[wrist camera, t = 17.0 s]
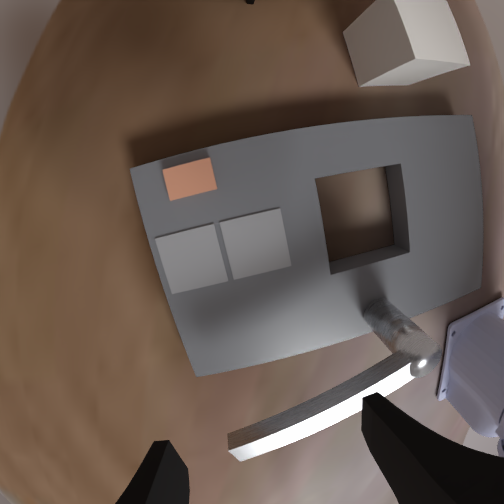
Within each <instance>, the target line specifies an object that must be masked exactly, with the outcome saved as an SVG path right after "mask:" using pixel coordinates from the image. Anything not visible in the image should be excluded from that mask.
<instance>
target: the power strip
mask: <svg viewBox="0 0 504 504" xmlns="http://www.w3.org/2000/svg"><path fill="white" fill-rule="evenodd" d="M382 166H385V169H386V175H387V182H388V189H389V196H390V204H391V213H392V222H393V233H394V245H391V246H388V247H384V248H380V249H377V250H373V251H369V252H366V253H362V254H358V255H354V256H351V257H347V258H343V259H339V260H335V261H332V262H329V260H328V253H327V247H326V240H325V234H324V228H323V222H322V216H321V210H320V204H319V199H318V193H317V188H316V182H315V178H320V177H325V176H330V175H336V174H341V173H347V172H352V171H358V170H364V169H370V168H376V167H382ZM130 172H131V177H132V181H133V185H134V189H135V193H136V197H137V201H138V204H139V208H140V212H141V216H142V219H143V223H144V227H145V230H146V234H147V237H148V240H149V244H150V247H151V251H152V254H153V257H154V260H155V264H156V267H157V270H158V273H159V276H160V279H161V282H162V285H163V288H164V291H165V294H166V297H167V300H168V303H169V306H170V309H171V312H172V315H173V317H174V320H175V323H176V326H177V328H178V331H179V334H180V337H181V339H182V342H183V344H184V347H185V350H186V352H187V355H188V357H189V360H190V362H191V365H192V367H193V370H194V372H195V375H196V377H200V376H205V375H210V374H216V373H221V372H226V371H230V370H235V369H240V368H244V367H249V366H253V365H258V364H262V363H266V362H270V361H274V360H278V359H282V358H286V357H290V356H294V355H297V354H301V353H305V352H308V351H312V350H315V349H319V348H322V347H326V346H329V345H332V344H336V343H339V342H342V341H345V340H349V339H352V338H355V337H358V336H361V335H364V334H367V333H370V332H373V331H372V329H371V328H370V327H369V326H368V325H367V324H366V322H365V320H364V313H365V310H366V308H367V306H368V305H369V304H370V303H371V302H372V301H374V300H375V299H378V298H385V299H387V300H388V301H389V302H391V303H392V304H393V305H394V306H395V307H396V308H398V309H399V310H400V311H401V312H402V313H403V314H405V315H406V316H407V317H408V318H411V317H414V316H416V315H419V314H421V313H424V312H427V311H429V310H431V309H434V308H436V307H439V306H441V305H443V304H446V303H448V302H450V301H453V300H455V299H457V298H460V297H462V296H464V295H466V294H468V293H471V292H473V291H475V290H477V289H479V288H481V281H482V266H483V199H482V184H481V173H480V163H479V155H478V147H477V141H476V134H475V128H474V123H473V117H472V115H432V116H409V117H394V118H381V119H370V120H360V121H351V122H342V123H334V124H326V125H319V126H312V127H306V128H299V129H293V130H287V131H282V132H276V133H271V134H265V135H260V136H255V137H250V138H245V139H241V140H236V141H231V142H227V143H223V144H218V145H214V146H210V147H206V148H202V149H198V150H194V151H190V152H186V153H182V154H179V155H175V156H171V157H168V158H164V159H161V160H157V161H154V162H150V163H147V164H144V165H140V166H137V167H134V168H131V169H130Z"/></svg>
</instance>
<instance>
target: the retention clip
mask: <svg viewBox="0 0 504 504" xmlns="http://www.w3.org/2000/svg"><path fill="white" fill-rule="evenodd" d="M364 320H365V322H366V324H367V325H368V326H369V327H370V328H371V329H372V331H373V332H374V333H375V334H376V335H377V336H378V337H379V339H380V340H381V341H382V342H383V343H384V344H385V345H386V347H387V348H388V349H389V350H390V351H391V352H392V355H390V356H389V357H387V358H385V359H384V360H382V361H380V362H379V363H377V364H375V365H374V366H372V367H370V368H369V369H367V370H365V371H363V372H362V373H360V374H358V375H356V376H354V377H353V378H351V379H349V380H347V381H345V382H343V383H341V384H340V385H338V386H336V387H334V388H332V389H330V390H328V391H326V392H324V393H322V394H320V395H318V396H316V397H314V398H312V399H310V400H308V401H306V402H303V403H301V404H299V405H297V406H295V407H293V408H290V409H288V410H286V411H284V412H281V413H279V414H277V415H274V416H272V417H270V418H267V419H265V420H262V421H260V422H257V423H255V424H252V425H250V426H247V427H244V428H242V429H239V430H236V431H234V432H231V433H228V434H227V435H228V451H229V452H230V453H232V454H233V455H234V456H235V457H236V458H237V459H238V460H239V461H243V460H246V459H249V458H252V457H255V456H258V455H261V454H263V453H266V452H269V451H272V450H274V449H277V448H279V447H282V446H284V445H287V444H289V443H292V442H294V441H297V440H299V439H301V438H304V437H306V436H308V435H311V434H313V433H315V432H317V431H319V430H322V429H324V428H326V427H328V426H330V425H332V424H334V423H336V422H338V421H340V420H342V419H344V418H346V417H348V416H350V415H352V414H354V413H356V412H358V411H359V410H361V409H362V397H364V396H367V395H369V394H372V393H375V392H379V393H380V394H381V395H383V396H386V395H388V394H389V393H391V392H393V391H394V390H396V389H397V388H399V387H401V386H402V385H404V384H405V383H407V382H409V381H410V380H412V379H413V378H420V377H423V376H425V375H427V374H429V373H430V372H431V371H432V370H433V369H434V368H435V367H436V366H437V364H438V363H439V361H440V358H441V355H442V349H441V347H440V346H439V345H438V344H437V343H436V342H435V341H434V340H433V339H432V338H431V337H429V336H428V335H427V334H426V333H425V332H424V331H423V330H422V329H420V328H419V327H418V326H417V325H416V324H415V323H414V322H413V321H411V320H410V319H409V318H408V317H407V316H406V315H405V314H403V313H402V312H401V311H400V310H399V309H398V308H396V307H395V306H394V305H393V304H392V303H391V302H389V301H388V300H387V299H385V298H378V299H375V300H374V301H372V302H371V303H370V304H369V305H368V306H367V308H366V310H365V313H364Z"/></svg>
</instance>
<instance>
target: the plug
mask: <svg viewBox="0 0 504 504" xmlns="http://www.w3.org/2000/svg"><path fill="white" fill-rule="evenodd" d="M343 35H344V38H345V41H346V45H347V48H348V51H349V54H350V58H351V61H352V64H353V68H354V71H355V75H356V79H357V82H358V86H359V87H364V86H393V85H411V84H413V83H416V82H419V81H422V80H425V79H428V78H431V77H434V76H437V75H440V74H443V73H446V72H449V71H453V70H456V69H459V68H462V67H466V66H469V65H470V62H469V59H468V55H467V52H466V49H465V46H464V43H463V40H462V38H461V35H460V32H459V29H458V27H457V24H456V22H455V19H454V17H453V14H452V12H451V10H450V7H449V5H448V3H447V1H446V0H376V1H375V2H374V3H372V4H371V5H370V6H369V7H368V8H367V9H366V10H365V11H364V12H363V13H362V14H361V15H360V16H359V17H358V18H357V19H356V20H355V21H354V22H353V23H352V24H350V25H349V26H348V27H347V28H346V29H345V30H344V31H343Z"/></svg>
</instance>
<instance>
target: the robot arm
mask: <svg viewBox="0 0 504 504" xmlns="http://www.w3.org/2000/svg"><path fill="white" fill-rule="evenodd" d="M503 315H504V298H503V297H501V298H499V299H498V300H496V301H494V302H492V303H490V304H488V305H486V306H484V307H483V308H481V309H479V310H477V311H475V312H473V313H471V314H469V315H467V316H465V317H463V318H461V319H458V320H456V321H454V322H452V323H451V324H450V325H449V327H448V332H447V341H446V348H445V355H444V362H443V368H442V373H441V379H440V384H439V389H438V394H437V399H438V400H439V401H441V400H443V399H445V398H446V399H447V400H448V401H449V402H450V403H451V404H452V406H453V407H454V408H455V409H456V410H457V411H458V412H459V414H460V415H461V416H462V417H463V418H464V419H465V421H466V422H467V423H468V424H469V425H470V427H471V428H472V429H473V430H474V431H475V432H477V433H478V434H480V435H482V436H486V437H498V436H499V437H500V439H499V441H498V445H497V449H498V454H499V456H494V455H491V454H487V453H484V452H480V451H477V450H473V449H471V448H468V447H465V446H463V445H460V444H458V443H456V442H453V441H451V440H449V439H447V438H445V437H443V436H441V435H439V434H437V433H436V432H434V431H432V430H430V429H429V428H427V427H425V426H424V425H422V424H421V423H419V422H418V421H416V420H415V419H413V418H412V417H410V416H409V415H407V414H406V413H404V412H403V411H402V410H400V409H399V408H398V407H396V406H395V405H394V404H393V403H391V402H390V401H389V400H387V399H386V398H385V397H384V396H383V395H381V394H380V393H379V392H375V393H372V394H369V395H367V396H364V397H362V427H361V430H362V433H363V435H364V438H365V440H366V443H367V445H368V448H369V450H370V452H371V454H372V456H373V457H374V459H375V461H376V463H377V464H378V466H379V468H380V470H381V471H382V473H383V475H384V477H385V478H386V480H387V482H388V483H389V485H390V487H391V489H392V490H393V492H394V494H395V496H396V498H397V500H398V503H399V504H504V320H503ZM189 493H190V489H189V474H188V468H187V466H186V465H185V463H184V462H183V461H182V459H181V458H180V456H179V455H178V453H177V452H176V450H175V449H174V447H173V445H172V444H171V442H170V441H169V440H164V441H154V442H153V444H152V446H151V447H150V449H149V451H148V453H147V454H146V456H145V458H144V460H143V462H142V463H141V465H140V467H139V468H138V470H137V472H136V473H135V475H134V477H133V478H132V480H131V482H130V483H129V485H128V486H127V488H126V489H125V491H124V492H123V494H122V495H121V496H120V498H119V499H118V501H117V502H116V503H115V504H189Z"/></svg>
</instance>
